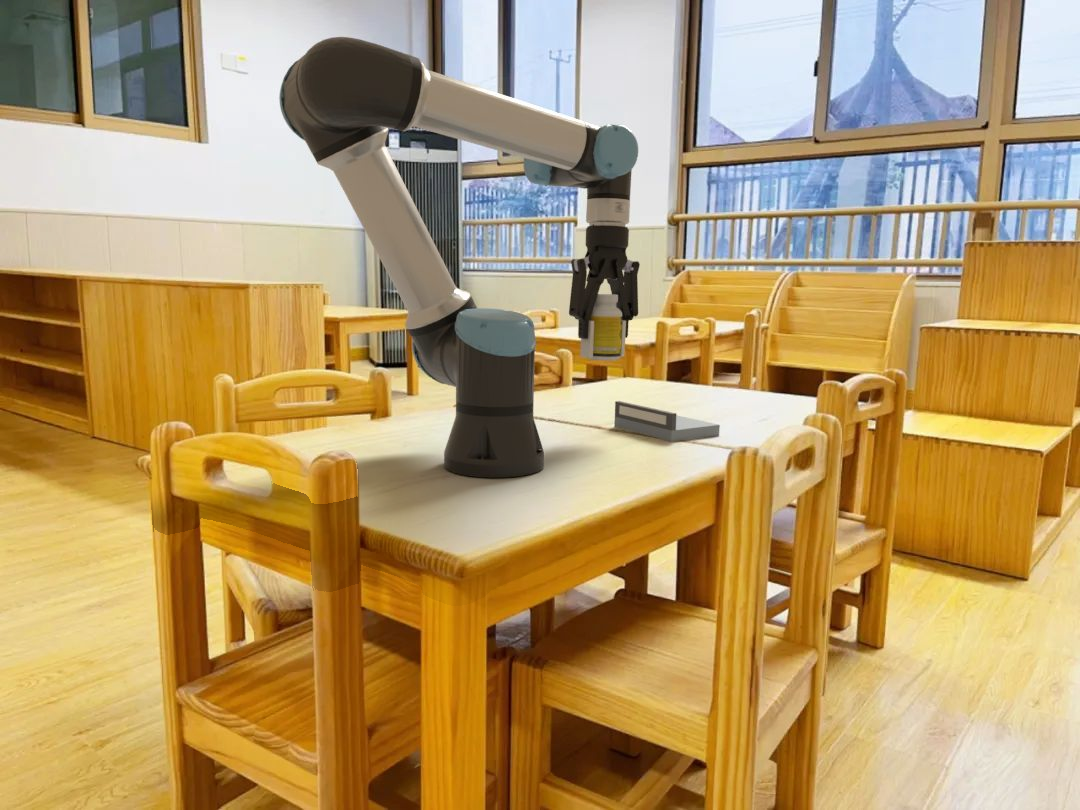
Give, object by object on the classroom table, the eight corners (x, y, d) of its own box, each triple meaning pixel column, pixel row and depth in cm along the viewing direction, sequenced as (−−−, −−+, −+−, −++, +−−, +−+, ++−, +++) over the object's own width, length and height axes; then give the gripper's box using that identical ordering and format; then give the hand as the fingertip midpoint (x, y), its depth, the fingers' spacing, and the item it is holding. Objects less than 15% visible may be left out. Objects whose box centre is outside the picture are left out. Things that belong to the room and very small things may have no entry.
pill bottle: (621, 361, 142) (624, 295, 140) (585, 360, 142) (587, 294, 141) (619, 358, 149) (621, 294, 147) (583, 357, 149) (586, 293, 147)
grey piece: (670, 441, 144) (671, 413, 143) (613, 426, 157) (614, 401, 156) (719, 435, 151) (720, 408, 150) (660, 421, 164) (662, 397, 163)
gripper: (575, 221, 133) (570, 360, 137) (663, 227, 144) (657, 356, 148) (549, 223, 140) (546, 356, 143) (636, 229, 150) (630, 353, 154)
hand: (602, 356), depth 145 cm, fingers closed on pill bottle, 6 cm apart
